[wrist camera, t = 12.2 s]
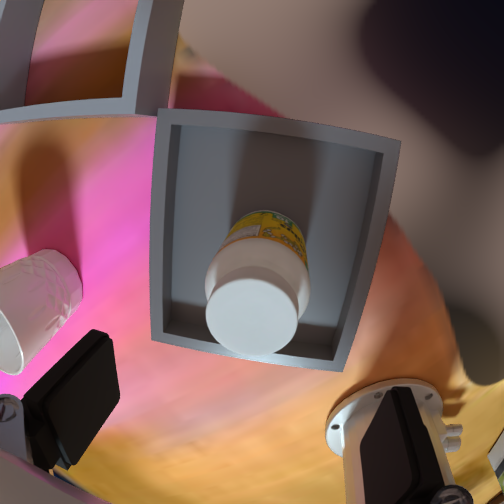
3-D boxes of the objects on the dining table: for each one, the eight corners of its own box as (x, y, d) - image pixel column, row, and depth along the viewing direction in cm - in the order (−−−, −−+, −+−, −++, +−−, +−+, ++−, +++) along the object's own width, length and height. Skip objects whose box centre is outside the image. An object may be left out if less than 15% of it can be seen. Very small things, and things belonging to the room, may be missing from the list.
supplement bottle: (215, 227, 23) (166, 288, 14) (285, 195, 21) (282, 239, 12) (249, 292, 24) (225, 379, 15) (317, 265, 23) (331, 346, 14)
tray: (388, 140, 20) (401, 141, 17) (338, 351, 26) (342, 372, 23) (173, 111, 21) (158, 108, 18) (163, 322, 27) (151, 340, 24)
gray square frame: (198, -61, 16) (180, -93, 11) (166, 117, 21) (134, 114, 16) (46, -26, 17) (14, -39, 12) (16, 123, 22) (-22, 126, 18)
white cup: (60, 228, 25) (-20, 270, 16) (103, 304, 27) (39, 368, 18) (19, 260, 27) (-49, 301, 18) (56, 325, 29) (-1, 380, 20)
